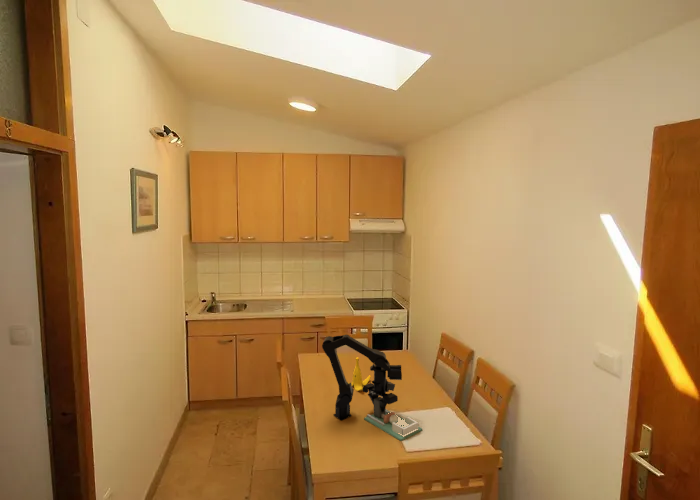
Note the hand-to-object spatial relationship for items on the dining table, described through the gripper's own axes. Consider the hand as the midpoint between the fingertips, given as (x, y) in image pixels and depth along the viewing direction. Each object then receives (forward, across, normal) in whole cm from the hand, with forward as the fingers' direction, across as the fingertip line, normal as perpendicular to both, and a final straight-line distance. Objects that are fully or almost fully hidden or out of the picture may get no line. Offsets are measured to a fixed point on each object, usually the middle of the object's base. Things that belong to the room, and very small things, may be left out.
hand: (379, 410), depth 199 cm
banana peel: (+4, +34, -17) cm, 38 cm away
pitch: (+4, -9, 0) cm, 9 cm away
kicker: (+2, -3, 0) cm, 4 cm away
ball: (+1, -10, 0) cm, 10 cm away
